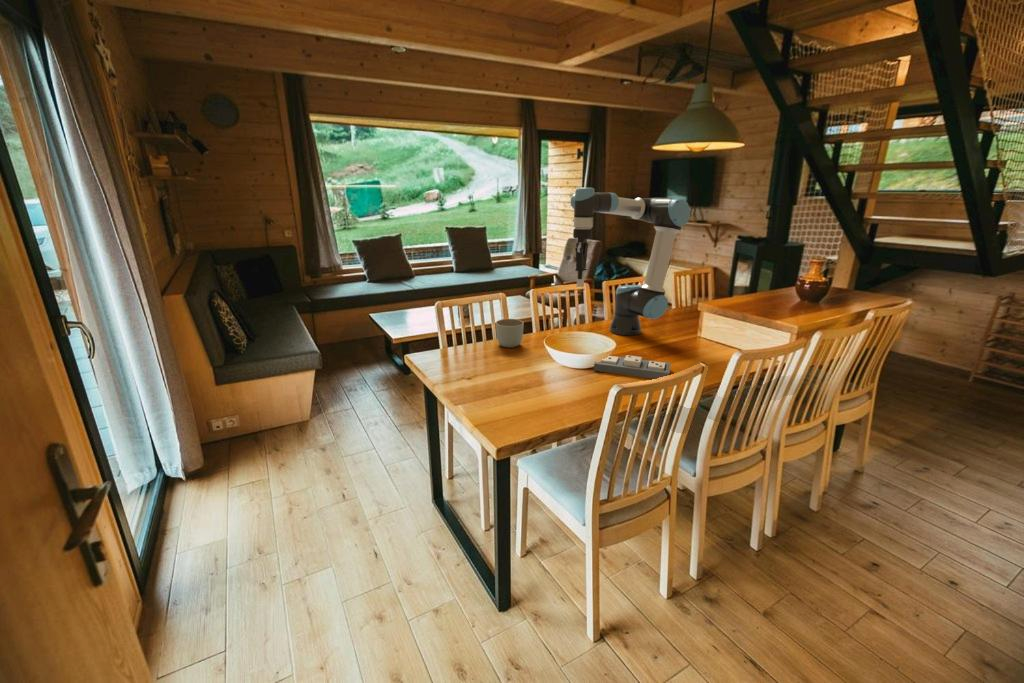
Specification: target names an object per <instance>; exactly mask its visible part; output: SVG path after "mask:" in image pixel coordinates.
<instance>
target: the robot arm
mask: <svg viewBox="0 0 1024 683" xmlns="http://www.w3.org/2000/svg"><path fill="white" fill-rule="evenodd" d="M569 202H570V206H571V207H572V209H573V210H574V212H573V217H574V218H573V219H572V222H573V228H574V229H573V231H572V232H573V233H572V238H573V239H576V240H577V243H576V245H575V246H576V247H575V249H574V250H575V272H577V273H576V287H578V288H579V287H580V288H584V287H585V273H586V272H585V271H587V270H588V269H587V260H588V258H587V257H588V251H589V250H588V248H589V242H588V240H589V239H592V238H593V229H592V228H594V213H600V214H609V215H616V216H625V217H631V219H633V220H638V221H642V222H646V223H650V224H654V225H653V228H654V230H655V236H654V240H653V243H652V249H651V254H650V257H649V262H648V266H647V269H646V274H645V277H644V278H645V279H644V282H643V284H641V285H640V284H639V285H638V284H629V285H628V284H625V285H620V286H617V288H616V291H615V298H614V299H615V302H614V315H613V318H612V320H611V323H610V325H609V331H610V332H611V333H613V334H616V335H620V336H638V335H640V334H641V333H642V325H641V321H640V317H643V318H645V319H650V320H657V319H659V318H661V316H663V315H664V314H665V313H666V311H667V309H668V306H669V301H668V298H667V297H666V296H665V293H666V290H665V288H664V284H665V282H666V281H665V280H666V277H667V272H668V269H669V268H668V267H669V263H670V260H671V257H672V256H671V255H672V251H673V249H674V244H675V239H676V235H677V234H678V233H680V232H681V229H682V227H684V226H686V225H687V224H688V222H689V220H690V218H691V208H690V205H689V203H688V202H687V200H685V199H684V198H678V197H643V198H642V197H636V198H634V199H633V198H626V197H620V196H618V195H617V193H615V192H595V188H594V187H577V188H576V189H575V191H574V193H573V194H572V196H571V197H570V201H569Z"/></svg>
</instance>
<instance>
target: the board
mask: <svg viewBox="0 0 1024 683" xmlns="http://www.w3.org/2000/svg"><path fill="white" fill-rule="evenodd" d="M613 356H614V355H613ZM614 357H618V364H609V363H601V362H596V361H594V364H593V371H594V372H603V373H610V374H616V375H623V376H624V375H625V376H630V377H631V376H632V377H639V378H646V379H653V380H655V379H654V378H659V377H663V376H667V375H669V376H670V372H671V366H672V364H671V363H670V362H665V361H664V362H663V363H665V369H664V371H663V370H655V369H648V364H649V361H650V360H649V359H648V360H647V359H642V360H641V365H640V367H632V366H624V359H625V356H624V357H623V356H614ZM654 361H655V362H657V361H656V360H654Z"/></svg>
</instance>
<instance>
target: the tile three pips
mask: <svg viewBox="0 0 1024 683" xmlns="http://www.w3.org/2000/svg"><path fill="white" fill-rule="evenodd" d="M648 361H649V364H648V369H655V370H663V371H664V369H665V363H666V362H665V363H663V362H662V361H656V360H648ZM655 361H656V362H655Z"/></svg>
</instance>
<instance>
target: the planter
mask: <svg viewBox="0 0 1024 683" xmlns="http://www.w3.org/2000/svg"><path fill="white" fill-rule="evenodd" d="M524 323H525V322H524V321H522V320H521V319H517V318H503V319H499V320H496V321H495V331H496V332H495V333H496V339H497V341H496V342H497V343H498V344H499V345H500V346H502V348H503V347H504V348H508V349H509V348H510V349H511V348H516V347H518V346H520V345H521V343H522V341H523V337H524V335H523V334H524Z"/></svg>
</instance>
